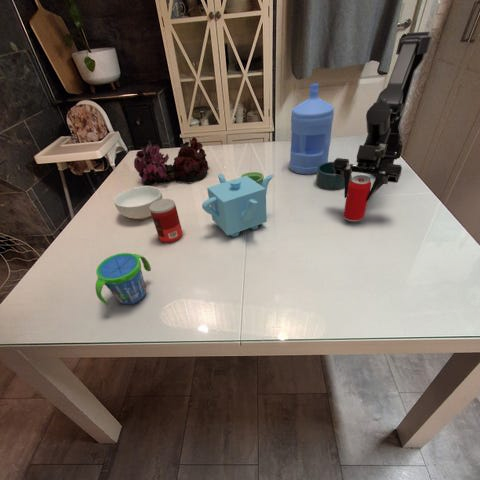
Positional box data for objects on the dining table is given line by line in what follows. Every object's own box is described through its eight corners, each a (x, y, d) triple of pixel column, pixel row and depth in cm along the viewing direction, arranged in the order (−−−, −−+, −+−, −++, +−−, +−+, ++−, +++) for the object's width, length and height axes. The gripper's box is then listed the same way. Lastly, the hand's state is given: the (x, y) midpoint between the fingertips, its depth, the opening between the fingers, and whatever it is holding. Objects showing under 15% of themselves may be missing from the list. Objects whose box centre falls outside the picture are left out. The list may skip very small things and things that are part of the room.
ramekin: (268, 187, 116) (268, 175, 113) (250, 195, 113) (250, 183, 109) (254, 180, 121) (253, 169, 118) (236, 188, 118) (235, 177, 115)
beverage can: (361, 212, 96) (370, 173, 87) (365, 222, 92) (374, 183, 83) (341, 212, 97) (348, 175, 88) (344, 223, 92) (351, 184, 84)
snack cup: (119, 322, 73) (101, 291, 66) (96, 304, 78) (77, 274, 71) (167, 287, 81) (156, 256, 73) (143, 273, 86) (131, 243, 78)
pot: (335, 173, 119) (337, 159, 115) (355, 184, 111) (358, 169, 107) (309, 181, 116) (311, 166, 112) (328, 193, 109) (330, 177, 105)
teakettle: (204, 238, 95) (195, 193, 84) (223, 209, 107) (217, 166, 96) (261, 244, 91) (259, 197, 80) (274, 213, 102) (274, 168, 91)
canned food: (187, 231, 99) (179, 199, 91) (176, 244, 94) (166, 212, 86) (166, 229, 101) (157, 197, 93) (155, 242, 96) (144, 210, 88)
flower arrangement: (207, 163, 138) (201, 126, 127) (212, 181, 125) (206, 141, 114) (140, 174, 136) (128, 138, 125) (138, 193, 123) (124, 154, 112)
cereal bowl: (175, 211, 110) (170, 192, 104) (137, 231, 102) (130, 211, 97) (148, 199, 118) (143, 181, 113) (112, 216, 111) (104, 198, 106)
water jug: (300, 158, 133) (304, 78, 112) (333, 163, 126) (344, 79, 105) (282, 171, 125) (284, 88, 104) (317, 177, 118) (325, 90, 97)
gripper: (339, 127, 83) (320, 183, 85) (412, 132, 75) (389, 194, 77) (343, 147, 93) (326, 198, 95) (408, 154, 85) (388, 208, 88)
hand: (355, 199), depth 88 cm, fingers closed on beverage can, 6 cm apart
